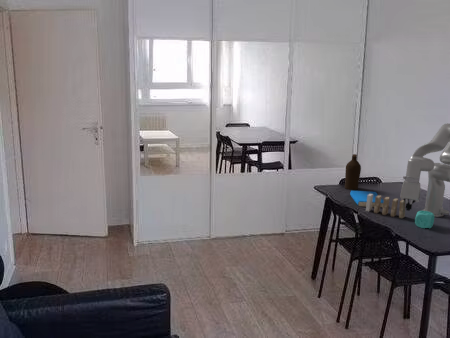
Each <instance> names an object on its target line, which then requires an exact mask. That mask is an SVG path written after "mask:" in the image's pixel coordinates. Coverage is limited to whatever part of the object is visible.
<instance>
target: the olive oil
mask: <svg viewBox="0 0 450 338" xmlns="http://www.w3.org/2000/svg"><path fill="white" fill-rule="evenodd" d="M357 156H358V154H355V153H354V154H352V156H351V160H350V161H348V162H347V163H346V164H345V173H344V174H345V177H344V189H346V190H349V191H358V189H359V184H360V178H361V173H362V166H361V164H360V162H359V161H358V157H357Z"/></svg>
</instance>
